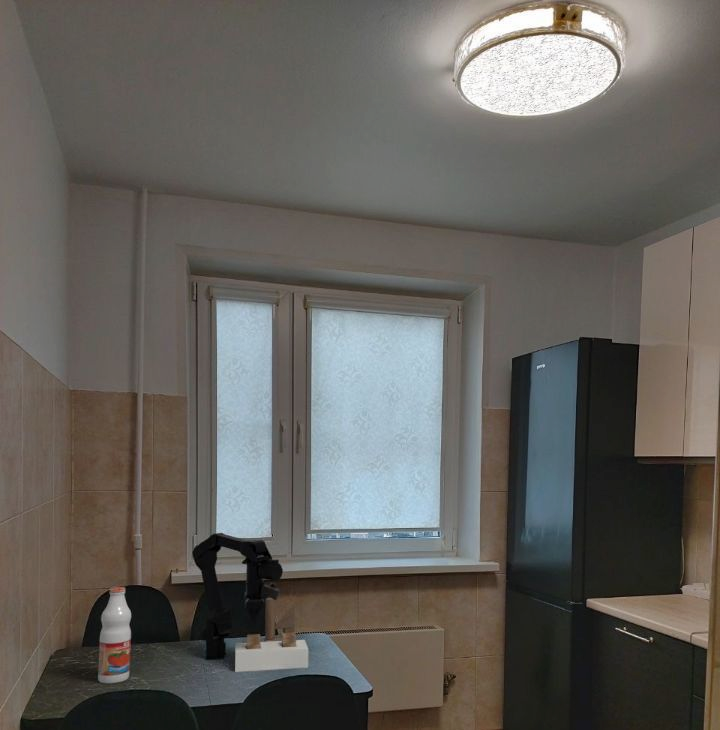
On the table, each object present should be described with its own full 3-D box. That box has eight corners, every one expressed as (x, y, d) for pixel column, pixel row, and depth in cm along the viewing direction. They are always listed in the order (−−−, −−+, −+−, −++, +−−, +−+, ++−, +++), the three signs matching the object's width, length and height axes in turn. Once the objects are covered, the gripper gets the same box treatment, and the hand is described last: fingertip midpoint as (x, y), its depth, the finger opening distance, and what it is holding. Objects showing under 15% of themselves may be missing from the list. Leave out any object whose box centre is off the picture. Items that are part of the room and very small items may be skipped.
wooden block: (294, 648, 250) (294, 597, 252) (265, 651, 246) (266, 599, 249) (291, 645, 253) (292, 595, 256) (263, 648, 249) (264, 597, 252)
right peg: (282, 652, 229) (283, 636, 229) (281, 649, 233) (282, 633, 234) (295, 652, 229) (296, 635, 230) (294, 648, 234) (294, 632, 234)
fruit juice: (114, 673, 221) (118, 584, 225) (135, 677, 216) (139, 586, 220) (91, 681, 213) (95, 589, 217) (112, 685, 208) (116, 591, 212)
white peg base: (235, 671, 221) (235, 652, 222) (235, 661, 233) (235, 643, 234) (308, 667, 226) (308, 648, 227) (304, 657, 237) (304, 639, 238)
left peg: (246, 654, 226) (247, 638, 227) (246, 651, 231) (247, 634, 231) (260, 654, 227) (260, 637, 228) (259, 650, 231) (259, 634, 232)
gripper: (280, 581, 225) (279, 630, 223) (276, 572, 243) (275, 618, 241) (246, 583, 223) (245, 632, 221) (245, 573, 241) (244, 619, 239)
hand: (253, 625), depth 230 cm, fingers open, 4 cm apart
